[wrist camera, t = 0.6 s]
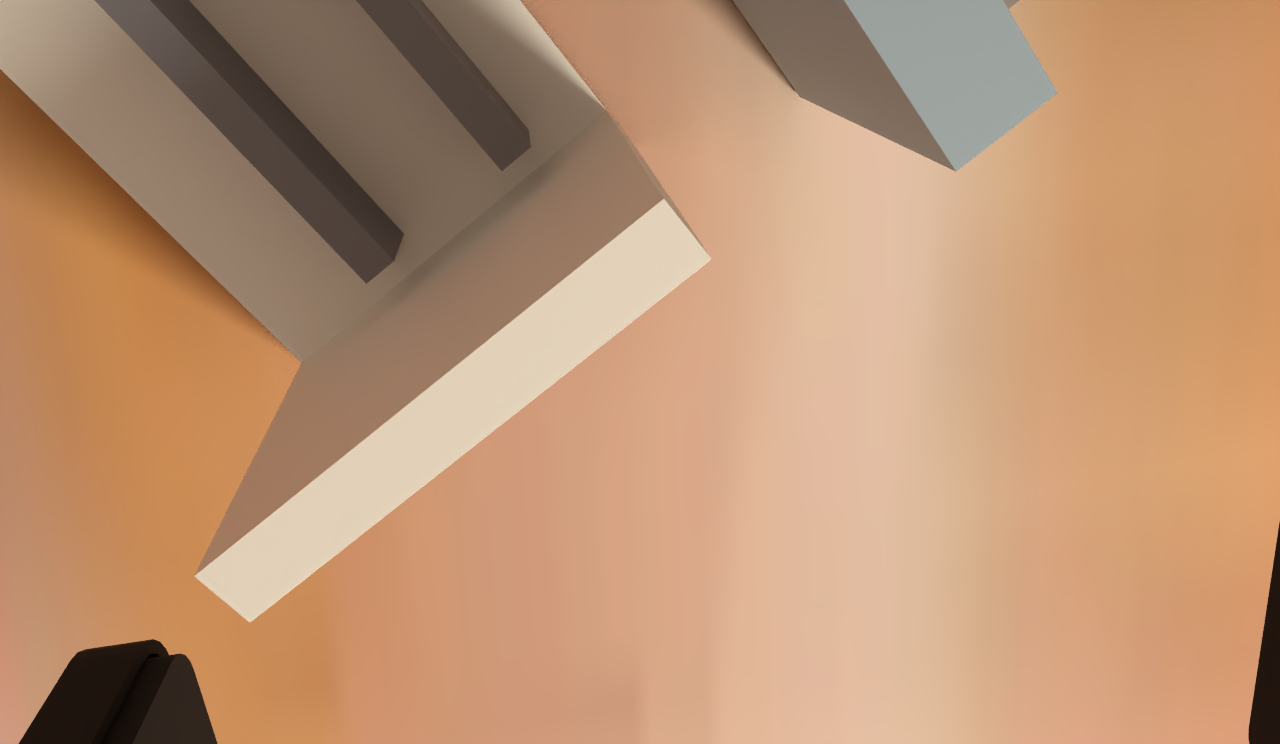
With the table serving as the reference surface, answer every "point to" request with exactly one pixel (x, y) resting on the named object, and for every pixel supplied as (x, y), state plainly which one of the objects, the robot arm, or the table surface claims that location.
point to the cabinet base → (364, 226)
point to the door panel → (908, 67)
